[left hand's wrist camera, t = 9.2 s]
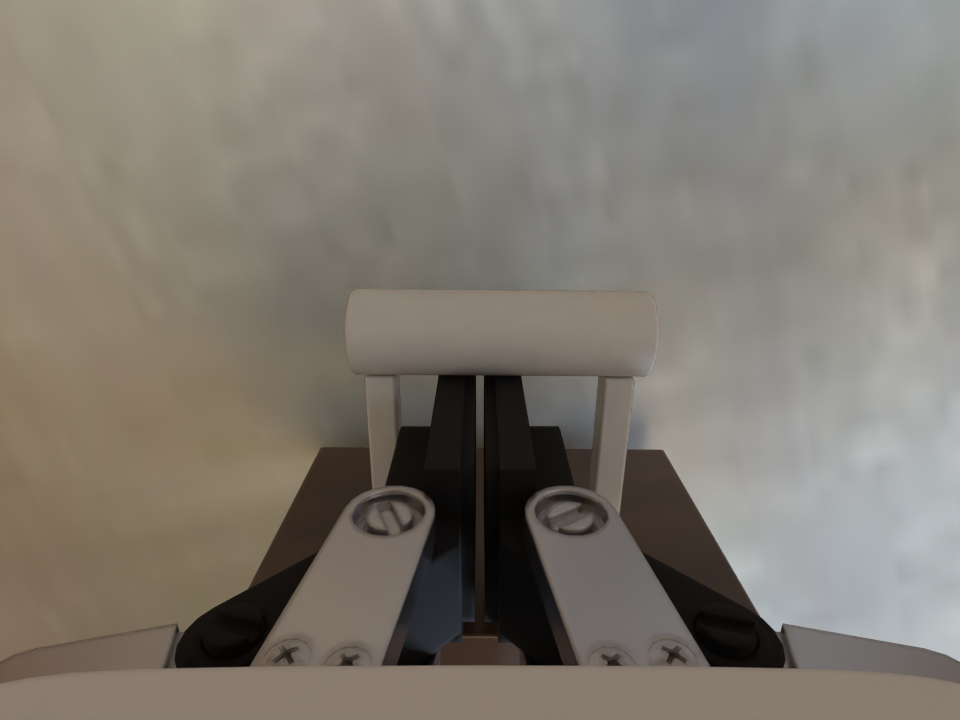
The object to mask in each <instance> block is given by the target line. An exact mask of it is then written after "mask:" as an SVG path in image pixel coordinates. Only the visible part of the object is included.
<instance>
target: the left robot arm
mask: <svg viewBox="0 0 960 720" xmlns="http://www.w3.org/2000/svg"><path fill="white" fill-rule="evenodd" d="M475 558H476V375H439V378H438V384H437V390H436V397H435V403H434V409H433V415H432V421H431V426H402V427H401V428H400V431H399V435H398V439H397V443H396V447H395V450H394V454H393V458H392V462H391V465H390V469H389V473H388V477H387V480H386V484H385V487H379V488H374V489H372V490H369V491H366V492H364V493H362V494H360V495H359V496H357V497H356V498H354V499H352V500H351V502H350V503H349V504H348V505H347V506H346V507H345V509H344V510H343V512H342V514H341V515H340V517H339V519H338V520H337V522H336V524H335V525H334V527H333V529H332V530H331V532H330V534H329V535H328V537H327V539H326V540H325V542H324V544H323V545H322V547H321V549H320V550H319V551H318V552H316V553H314V554H313V555H311V556H309V557H307V558H305V559H303V560H301V561H300V562H298V563H296V564H294V565H292V566H290V567H288V568H287V569H285V570H283V571H281V572H279V573H277V574H275V575H274V576H272V577H270V578H268V579H266V580H264V581H263V582H261V583H259V584H257V585H255V586H253V587H251V588H250V589H248V590H246V591H244V592H242V593H240V594H238V595H237V596H235V597H233V598H231V599H229V600H227V601H225V602H224V603H222V604H220V605H218V606H216V607H214V608H213V609H211V610H210V611H208V612H207V613H205V614H204V615H202V616H201V617H199V618H198V619H197V620H196V621H195V622H194V623H193V624H192V625H191V626H190V627H189V628H188V629H187V630H186V631H185V632H179V629H178V625H177V624H171V625H166V626H160V627H154V628H149V629H143V630H137V631H132V632H126V633H120V634H115V635H109V636H103V637H98V638H92V639H86V640H81V641H75V642H69V643H64V644H58V645H52V646H47V647H41V648H35V649H32V650H29V651H25V652H22V653H18V654H15V655H13V656H11V657H9V658H7V659H5V660H3V661H1V662H0V720H960V662H959V661H957V660H955V659H953V658H951V657H949V656H947V655H945V654H942V653H938V652H935V651H931V650H928V649H925V648H919V647H913V646H908V645H902V644H896V643H891V642H885V641H879V640H874V639H868V638H862V637H857V636H851V635H845V634H840V633H834V632H828V631H823V630H817V629H811V628H806V627H800V626H794V625H789V624H783V625H782V629H781V632H775V631H774V630H773V629H772V628H771V627H770V626H769V625H768V624H767V623H766V622H765V621H764V620H763V619H762V618H761V617H759V616H758V615H756V614H755V613H753V612H752V611H750V610H749V609H747V608H746V607H744V606H742V605H740V604H738V603H736V602H734V601H733V600H731V599H729V598H727V597H725V596H723V595H721V594H720V593H718V592H716V591H714V590H712V589H710V588H708V587H707V586H705V585H703V584H701V583H699V582H697V581H696V580H694V579H692V578H690V577H688V576H686V575H684V574H683V573H681V572H679V571H677V570H675V569H673V568H671V567H670V566H668V565H666V564H664V563H662V562H660V561H658V560H657V559H655V558H653V557H651V556H649V555H647V554H645V553H644V552H642V551H641V550H640V549H639V547H638V545H637V544H636V542H635V540H634V539H633V537H632V535H631V534H630V532H629V530H628V529H627V527H626V525H625V524H624V522H623V520H622V519H621V517H620V515H619V514H618V512H617V510H616V509H615V507H614V506H613V505H612V504H611V503H610V502H609V500H608V499H606V498H604V497H603V496H601V495H600V494H598V493H596V492H594V491H591V490H588V489H586V488H581V487H575V485H574V481H573V477H572V473H571V470H570V466H569V462H568V458H567V455H566V451H565V447H564V443H563V440H562V436H561V432H560V429H559V427H558V426H529V422H528V416H527V410H526V404H525V398H524V392H523V385H522V379H521V376H504V375H484V572H485V622H497V636H498V643H513V644H514V645H515V646H517V647H518V648H519V649H520V666H518V665H442V666H440V649H441V648H442V647H443V646H444V645H446V644H447V643H462V632H463V622H475Z"/></svg>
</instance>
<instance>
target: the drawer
mask: <svg viewBox="0 0 960 720" xmlns="http://www.w3.org/2000/svg"><path fill="white" fill-rule="evenodd" d="M344 335H345V350H346V356H347V361H348V364H349V367H350V370H351V371H352V372H353V373H354V374H367V375H366V377H365V390H366V405H367V419H368V433H369V447H370V448H351V447H322V448H320V450H319V452H318V454H317V456H316V458H315V460H314V462H313V464H312V466H311V468H310V470H309V472H308V474H307V476H306V478H305V479H304V481H303V483H302V485H301V487H300V489H299V491H298V493H297V495H296V497H295V499H294V501H293V503H292V505H291V507H290V509H289V511H288V512H287V514H286V516H285V518H284V520H283V522H282V524H281V526H280V528H279V530H278V532H277V534H276V536H275V538H274V540H273V542H272V544H271V546H270V547H269V549H268V551H267V553H266V555H265V557H264V559H263V561H262V563H261V565H260V567H259V569H258V571H257V573H256V575H255V577H254V579H253V581H252V582H251V584H250V586H249V588H248V589H250V588H251V587H253V586H255V585H257V584H259V583H261V582H263V581H264V580H266V579H268V578H270V577H272V576H274V575H275V574H277V573H279V572H281V571H283V570H285V569H287V568H288V567H290V566H292V565H294V564H296V563H298V562H300V561H301V560H303V559H305V558H307V557H309V556H311V555H313V554H314V553H316V552H318V551H319V550H320V549H321V547H322V545H323V544H324V542H325V540H326V539H327V537H328V535H329V534H330V532H331V530H332V529H333V527H334V525H335V524H336V522H337V520H338V519H339V517H340V515H341V514H342V512H343V510H344V509H345V507H346V506H347V505H348V504H349V503H350V502H351V500H352V499H354V498H356V497H357V496H359V495H360V494H362V493H364V492H366V491H369V490H372V489H374V488H379V487H385V484H386V480H387V477H388V473H389V469H390V465H391V462H392V458H393V454H394V450H395V447H396V443H397V439H398V435H399V431H400V428H401V427H402V425H401V403H400V382H399V375H504V376H599V378H598V389H597V401H596V412H595V423H594V434H593V446H592V449H565V451H566V455H567V458H568V462H569V466H570V470H571V473H572V477H573V481H574V485H575V487H581V488H586V489H588V490H591V491H594V492H596V493H598V494H600V495H601V496H603V497H604V498H606V499H608V500H609V502H610V503H611V504H612V505H613V506H614V507H615V509H616V510H617V512H618V514H619V515H620V517H621V519H622V520H623V522H624V524H625V525H626V527H627V529H628V530H629V532H630V534H631V535H632V537H633V539H634V540H635V542H636V544H637V545H638V547H639V549H640V550H641V551H642V552H644V553H645V554H647V555H649V556H651V557H653V558H655V559H657V560H658V561H660V562H662V563H664V564H666V565H668V566H670V567H671V568H673V569H675V570H677V571H679V572H681V573H683V574H684V575H686V576H688V577H690V578H692V579H694V580H696V581H697V582H699V583H701V584H703V585H705V586H707V587H708V588H710V589H712V590H714V591H716V592H718V593H720V594H721V595H723V596H725V597H727V598H729V599H731V600H733V601H734V602H736V603H738V604H740V605H742V606H744V607H746V608H747V609H749V610H750V611H752V612H753V613H755V614H756V615H758V616H759V614H758V612H757V611H756V609H755V607H754V605H753V604H752V602H751V600H750V598H749V597H748V595H747V593H746V592H745V590H744V588H743V586H742V585H741V583H740V581H739V580H738V578H737V576H736V574H735V573H734V571H733V569H732V568H731V566H730V564H729V562H728V561H727V559H726V557H725V556H724V554H723V552H722V550H721V549H720V547H719V545H718V544H717V542H716V540H715V538H714V537H713V535H712V533H711V531H710V530H709V528H708V526H707V525H706V523H705V521H704V519H703V518H702V516H701V514H700V513H699V511H698V509H697V507H696V506H695V504H694V502H693V501H692V499H691V497H690V495H689V494H688V492H687V490H686V489H685V487H684V485H683V483H682V482H681V480H680V478H679V477H678V475H677V473H676V471H675V470H674V468H673V466H672V464H671V463H670V461H669V459H668V458H667V456H666V454H665V452H664V451H663V450H627V444H628V435H629V426H630V418H631V409H632V400H633V391H634V382H635V381H634V378H633V377H632V376H636V377H643V376H646V375H648V374H649V373H650V372H651V371H652V369H653V366H654V364H655V360H656V356H657V351H658V343H659V320H658V312H657V308H656V304H655V301H654V298H653V296H652V295H651V294H650V293H648V292H646V291H536V290H409V289H355V290H353V291H352V292H351V293H350V296H349V298H348V302H347V306H346V313H345V328H344ZM759 617H760V616H759ZM442 665H518V666H520V649H519V648H518V647H517V646H515V645H514V644H513V643H498V636H497V622H485V572H484V448H476V558H475V622H463V632H462V643H447V644H446V645H444V646H443V647H442V648H441V649H440V666H442Z"/></svg>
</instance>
